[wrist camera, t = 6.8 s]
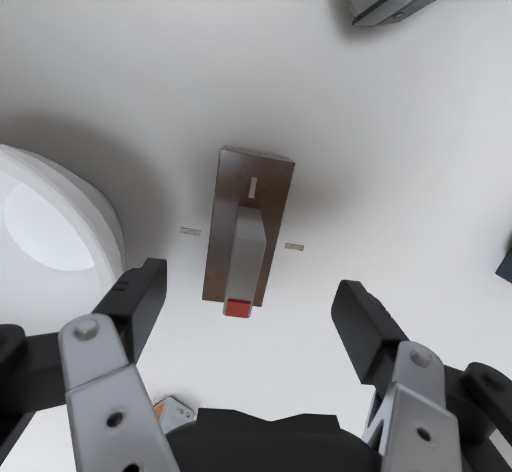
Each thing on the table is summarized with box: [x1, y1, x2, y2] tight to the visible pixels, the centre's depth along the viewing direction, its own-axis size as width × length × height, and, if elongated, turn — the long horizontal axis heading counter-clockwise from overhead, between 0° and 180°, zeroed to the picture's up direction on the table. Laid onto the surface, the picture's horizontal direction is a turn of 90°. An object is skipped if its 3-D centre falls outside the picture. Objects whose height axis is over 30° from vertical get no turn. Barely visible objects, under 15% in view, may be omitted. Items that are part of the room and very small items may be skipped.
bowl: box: [0, 144, 126, 336], centre depth 17 cm, size 16×16×9 cm
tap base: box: [180, 146, 304, 307], centre depth 20 cm, size 12×9×3 cm
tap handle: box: [223, 206, 266, 318], centre depth 16 cm, size 5×2×6 cm, turn 169°
